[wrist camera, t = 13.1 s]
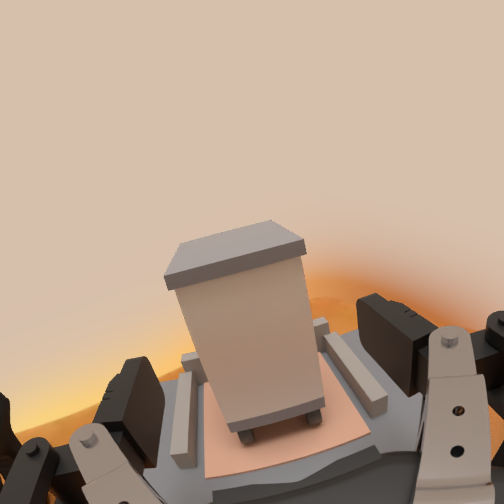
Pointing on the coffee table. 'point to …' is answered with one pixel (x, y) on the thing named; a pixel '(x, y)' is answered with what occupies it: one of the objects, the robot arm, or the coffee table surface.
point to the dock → (280, 426)
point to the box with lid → (251, 324)
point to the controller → (7, 440)
